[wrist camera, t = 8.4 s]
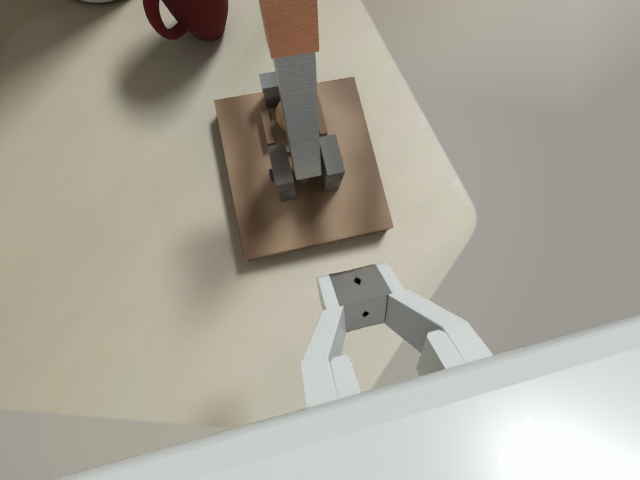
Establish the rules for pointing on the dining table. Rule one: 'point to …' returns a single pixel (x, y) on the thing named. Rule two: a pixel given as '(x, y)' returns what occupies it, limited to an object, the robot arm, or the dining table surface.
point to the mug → (189, 17)
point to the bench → (279, 178)
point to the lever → (296, 77)
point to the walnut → (280, 116)
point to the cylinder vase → (97, 1)
